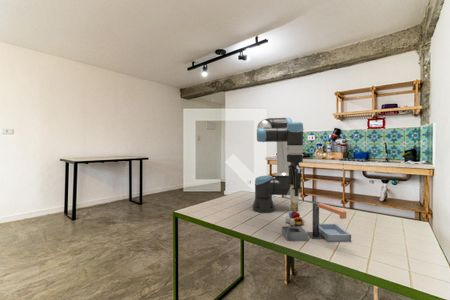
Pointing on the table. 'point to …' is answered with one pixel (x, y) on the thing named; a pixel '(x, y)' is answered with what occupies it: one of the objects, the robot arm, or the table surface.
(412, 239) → the table surface
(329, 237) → the tray
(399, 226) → the table surface
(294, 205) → the pin
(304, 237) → the hitch block
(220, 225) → the table surface
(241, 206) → the table surface
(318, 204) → the swing bar
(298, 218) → the rainbow disc toy
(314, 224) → the gate post
